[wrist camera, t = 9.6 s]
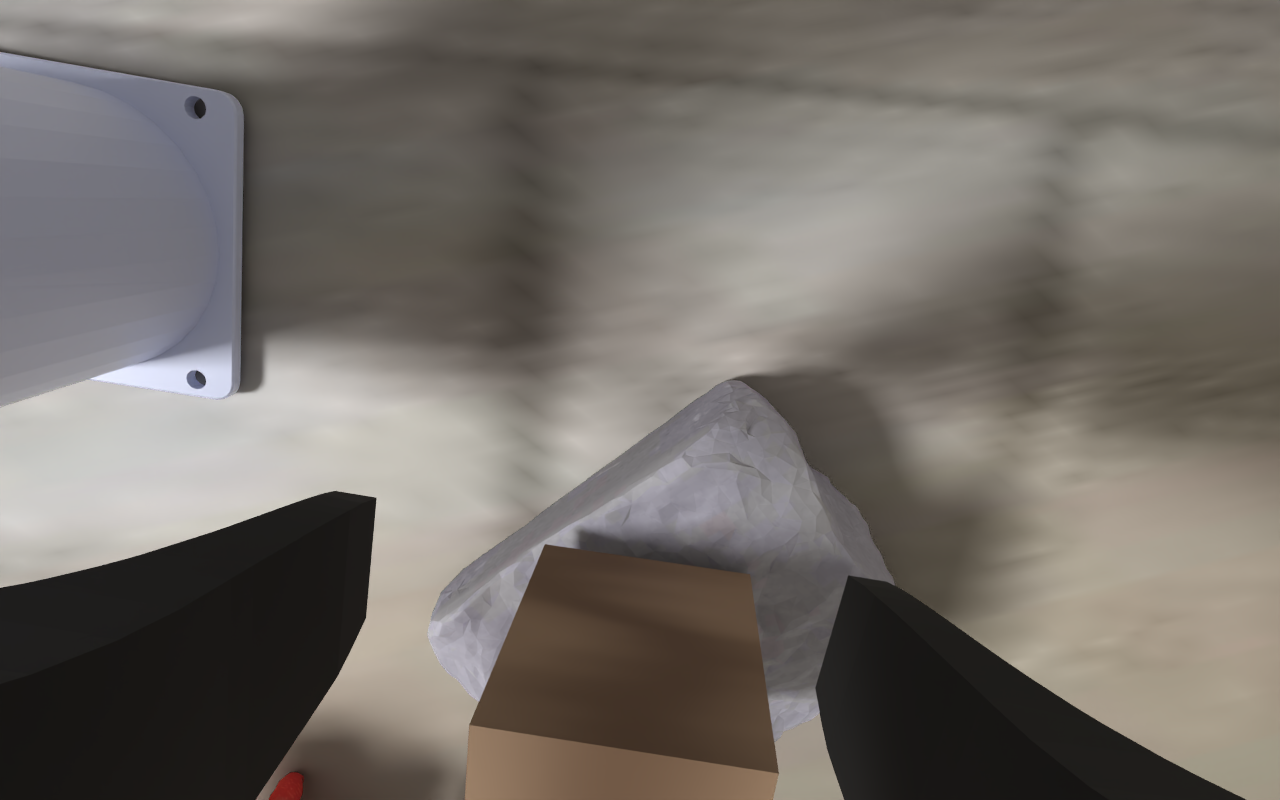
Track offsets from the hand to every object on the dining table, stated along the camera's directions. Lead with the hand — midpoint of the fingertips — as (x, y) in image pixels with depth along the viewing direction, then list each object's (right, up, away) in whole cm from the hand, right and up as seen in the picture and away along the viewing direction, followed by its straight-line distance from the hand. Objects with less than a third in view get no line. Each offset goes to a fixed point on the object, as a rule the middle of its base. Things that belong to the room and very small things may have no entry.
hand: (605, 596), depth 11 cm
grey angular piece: (+2, -3, +12) cm, 12 cm away
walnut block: (0, -3, +7) cm, 8 cm away
